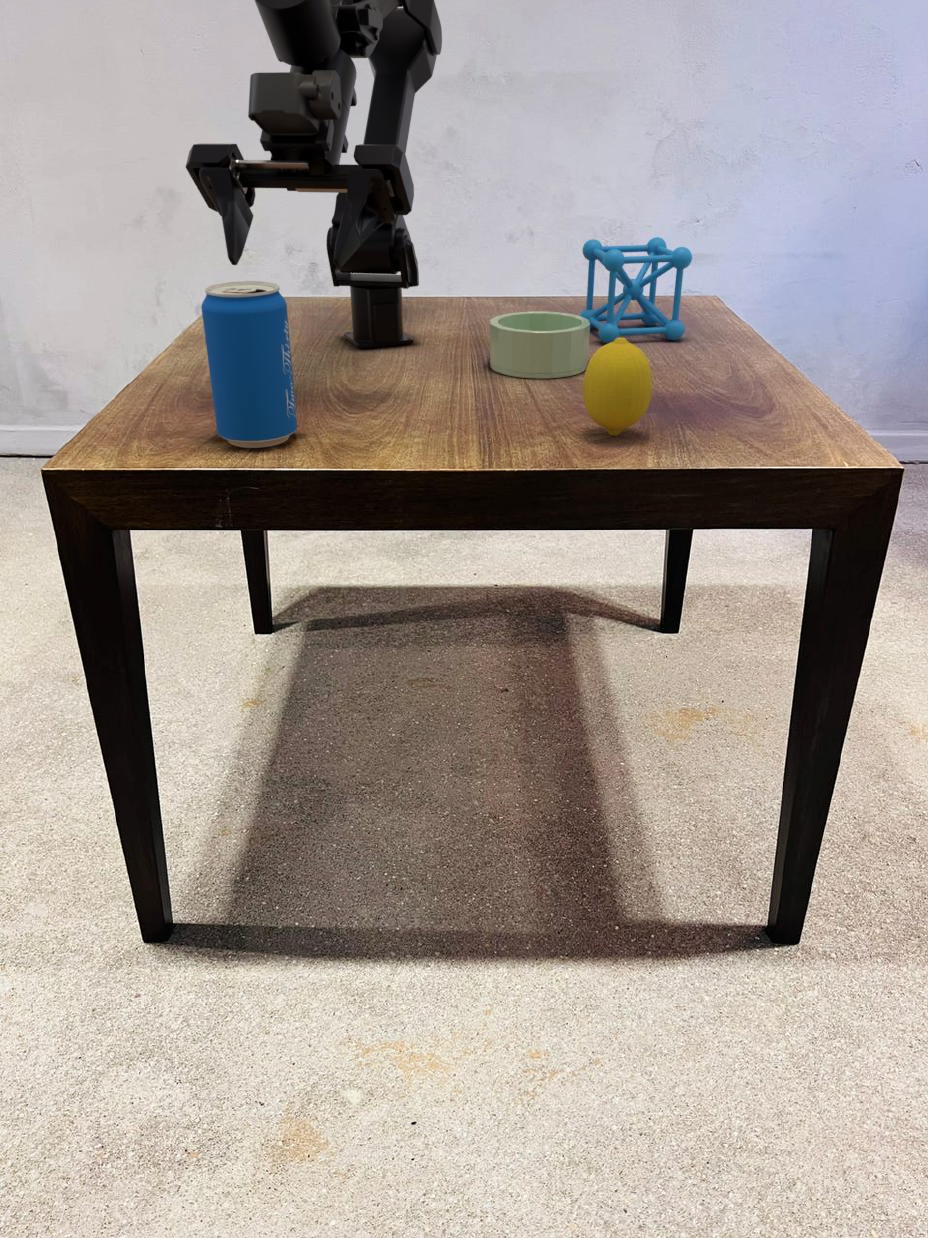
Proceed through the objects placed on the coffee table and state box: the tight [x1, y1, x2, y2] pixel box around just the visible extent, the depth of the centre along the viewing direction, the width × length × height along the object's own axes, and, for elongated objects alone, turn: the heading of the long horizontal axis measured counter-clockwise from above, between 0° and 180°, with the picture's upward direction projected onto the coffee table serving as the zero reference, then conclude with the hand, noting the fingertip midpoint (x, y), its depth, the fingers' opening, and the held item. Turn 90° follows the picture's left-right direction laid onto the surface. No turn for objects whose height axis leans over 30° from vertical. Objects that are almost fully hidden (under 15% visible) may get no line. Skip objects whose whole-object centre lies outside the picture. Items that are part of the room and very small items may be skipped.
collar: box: [489, 310, 591, 380], centre depth 100 cm, size 10×10×4 cm
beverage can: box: [201, 280, 298, 449], centre depth 78 cm, size 6×6×12 cm
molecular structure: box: [579, 236, 693, 345], centre depth 111 cm, size 10×10×10 cm
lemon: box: [582, 336, 653, 436], centre depth 79 cm, size 6×6×8 cm
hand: (284, 263), depth 82 cm, fingers open, 9 cm apart
